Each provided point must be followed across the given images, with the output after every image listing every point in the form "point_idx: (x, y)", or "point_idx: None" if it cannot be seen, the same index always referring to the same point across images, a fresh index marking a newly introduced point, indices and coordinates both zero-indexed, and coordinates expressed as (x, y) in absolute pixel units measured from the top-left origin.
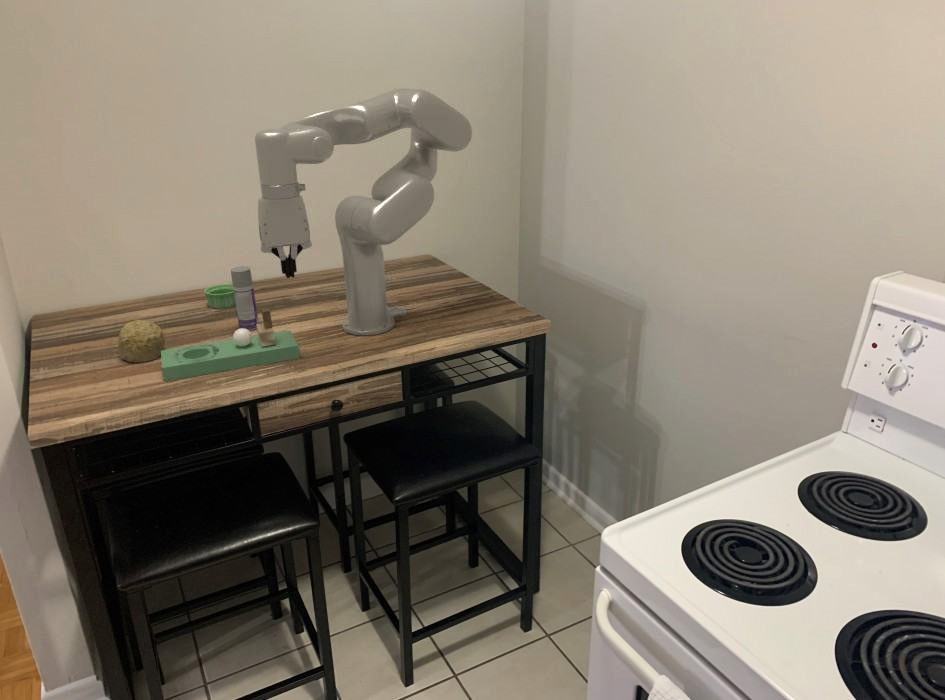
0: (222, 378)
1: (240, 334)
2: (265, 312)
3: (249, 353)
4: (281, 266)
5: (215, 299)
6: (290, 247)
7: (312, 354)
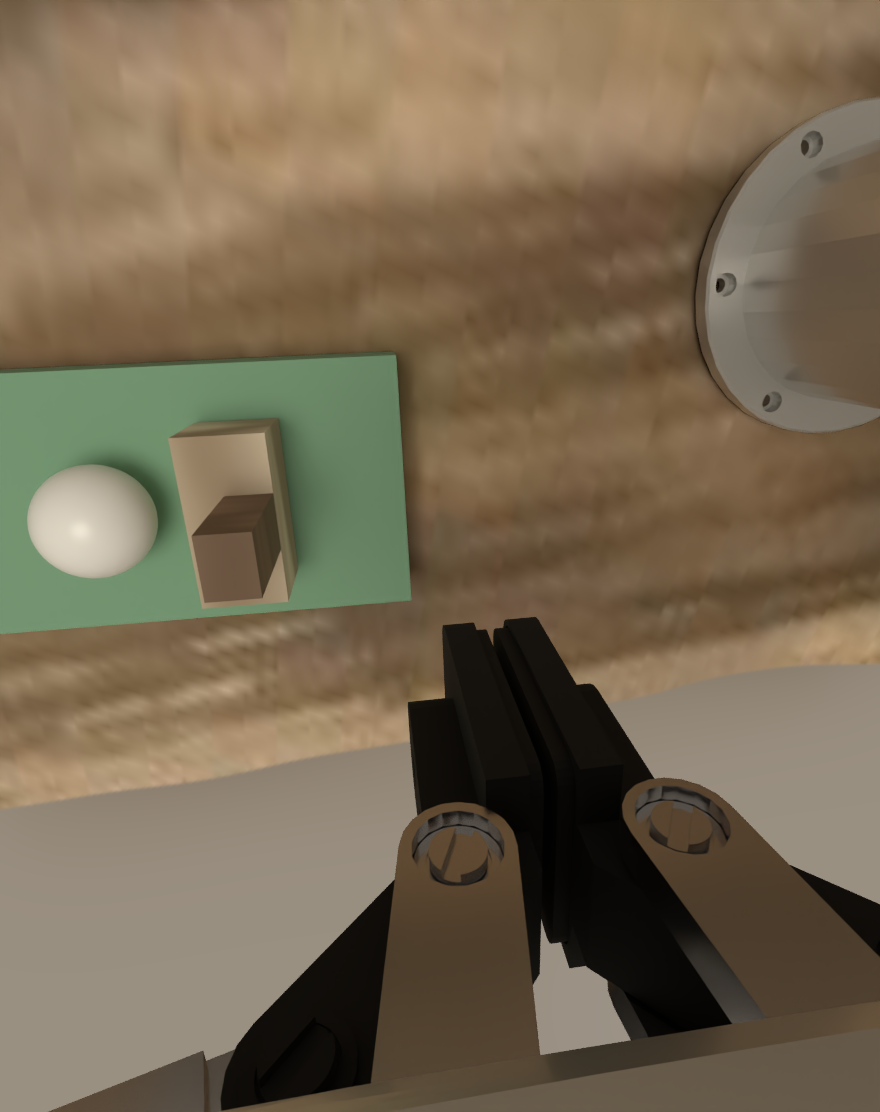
0: (57, 671)
1: (77, 575)
2: (227, 599)
3: (160, 620)
4: (415, 771)
5: None
6: (733, 997)
7: (469, 551)
